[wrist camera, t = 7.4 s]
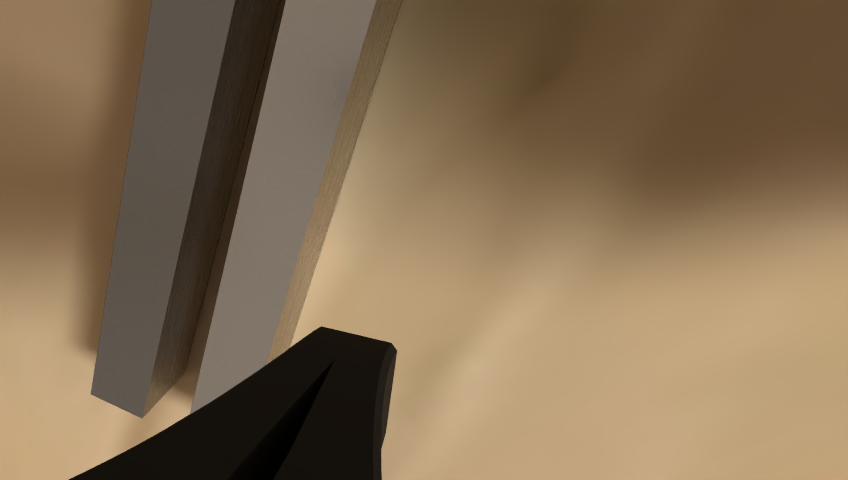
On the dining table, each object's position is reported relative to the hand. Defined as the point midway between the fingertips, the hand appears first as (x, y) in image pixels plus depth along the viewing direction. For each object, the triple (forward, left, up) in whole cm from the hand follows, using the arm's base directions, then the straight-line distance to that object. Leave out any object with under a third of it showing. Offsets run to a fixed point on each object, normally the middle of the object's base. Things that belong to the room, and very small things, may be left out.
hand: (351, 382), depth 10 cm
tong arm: (+4, 0, -8) cm, 9 cm away
